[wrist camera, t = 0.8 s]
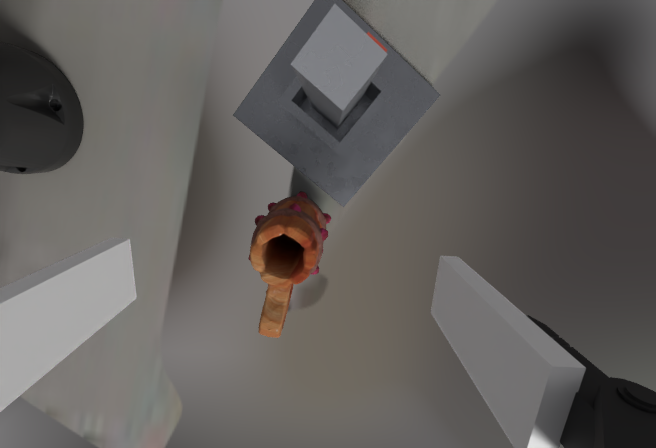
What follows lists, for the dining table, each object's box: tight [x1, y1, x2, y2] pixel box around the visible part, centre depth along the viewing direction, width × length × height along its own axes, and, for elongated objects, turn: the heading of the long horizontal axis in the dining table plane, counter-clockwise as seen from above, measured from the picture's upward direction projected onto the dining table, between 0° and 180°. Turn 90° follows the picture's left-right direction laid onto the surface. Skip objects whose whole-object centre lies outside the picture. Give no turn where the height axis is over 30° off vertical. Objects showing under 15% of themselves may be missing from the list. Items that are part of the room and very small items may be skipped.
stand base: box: [233, 0, 440, 207], centre depth 34 cm, size 18×18×9 cm
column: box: [291, 4, 388, 129], centre depth 27 cm, size 4×5×20 cm
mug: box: [249, 192, 331, 338], centre depth 35 cm, size 15×8×15 cm, turn 167°
